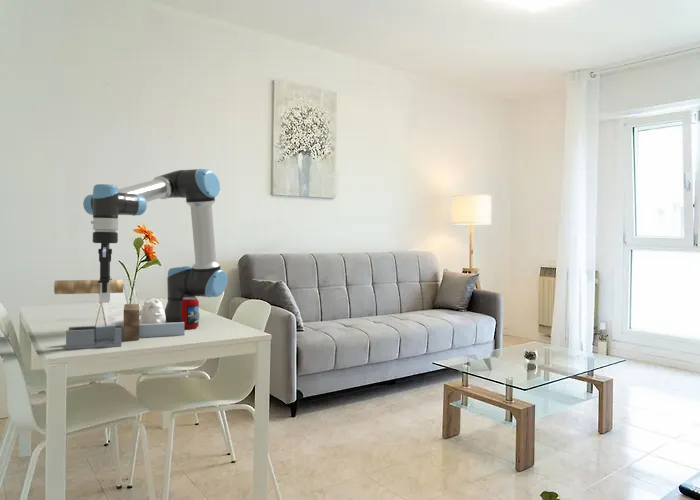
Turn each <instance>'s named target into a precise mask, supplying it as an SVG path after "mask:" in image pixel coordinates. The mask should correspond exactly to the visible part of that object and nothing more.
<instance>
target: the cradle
mask: <svg viewBox="0 0 700 500" xmlns="http://www.w3.org/2000/svg"><path fill="white" fill-rule="evenodd" d="M122 325H123V324H115V339H100V340H96V326H97V325H87V326H69V327H68V330H66V331H65V350H66V351H69V349H71V350H84V349H86V350H87V349H98V348H99V349H100V348H101V349H102V348H116V347H117V348H118V347H122V344H123V343H122V342H123V339H122Z"/></svg>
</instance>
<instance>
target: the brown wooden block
mask: <svg viewBox="0 0 700 500" xmlns="http://www.w3.org/2000/svg"><path fill="white" fill-rule="evenodd" d="M139 312H140V303H128V304H127V303H126V304H124V306H123V325H124V332H123V339H122V342H129V341H130V342H131V341H140V338H139V320H140V315H139Z"/></svg>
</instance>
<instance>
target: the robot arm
mask: <svg viewBox="0 0 700 500" xmlns="http://www.w3.org/2000/svg"><path fill="white" fill-rule="evenodd" d="M219 180H220V179H219V178H218V176H217V175H216V174H215V172H214V171H212V170H210V169H209V168H208V169H205V168H198V169H197V168H196V169H178V170H175V171H170V172H168V173H165V174H162V175H158V176H155V177H154V178H153V180H152V179H151V180H149V181H144V182H140V183H137V184H134V185H129V186H126V187H122V188H119V187H118V186H117V185H115V184H110V183H109V184H106V183H99V184H98V183H97V184H95V185H93V189H92V194H88V195H86V196H85V197H84V199H83V203H82V205H83V206H82V207H83V209H84V211H85V212H86V213H87V214H88V215H91V216H92V220H91V221H90V224H91V225H92V230H93V232H92V242H93V243H94V244H100V248H98V250H97V254H98V262H99V280H100V281H98V283H100V293H99V303H100V304H103V303H104V304H106V303H107V304H108V303H110V301H111V293H109V280H113V279H112V278H111V262H112V254H113V248H110V244H117V243H118V241H119V239H118V238H119V237H118V236H119V234H118V232H117V231H118V230H119V216H133V217H134V216H142V215H143V214H144V213H145V212H146V210H147V206H148V204H147V203H148V202H151V201H153V200H154V201H155V200H157V199H160V200H166V199H167V200H168V199H171V198H174V199H176V198H177V199H178V198H180V199H182V198H183V199H184V198H185V202H186V204H187V205H189V207H190V215H191V228H192V239H193V251H194V261H195V263H194V264H192V265H187V266H177V267H170V268H169V269H168V271H167V278H166V279H167V301H166V306H165V309H164V311H165V315H166V322H181V302H182V300H183V298H186V297H203V298H217V297H220V296H221V295H222V294H223V293H224V292H225V289H226V288H227V285H228V276H227V273H226V272H225V271H224V270H223V269H221V264H220V263H219V262H218V261H217V252H216V243H215V242H216V241H215V231H214V230H215V229H214V218H213V217H214V215H213V204H214V203H215V202H216V197H217V196H218V195H219V192H220V190H221V185H220V181H219Z"/></svg>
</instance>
